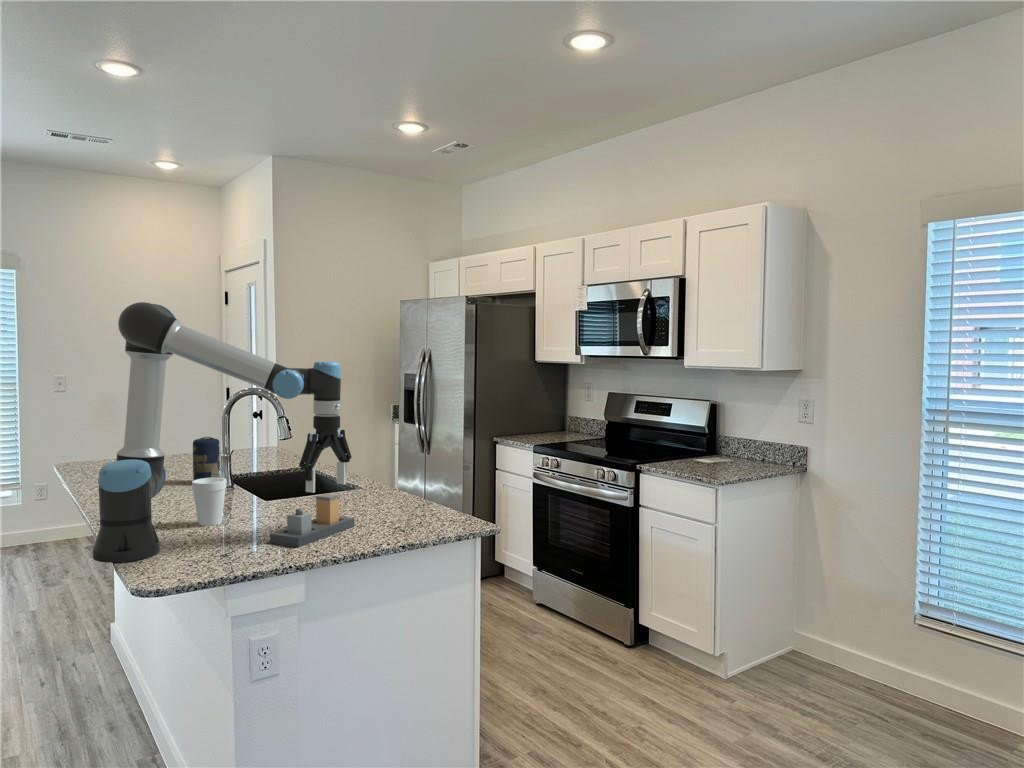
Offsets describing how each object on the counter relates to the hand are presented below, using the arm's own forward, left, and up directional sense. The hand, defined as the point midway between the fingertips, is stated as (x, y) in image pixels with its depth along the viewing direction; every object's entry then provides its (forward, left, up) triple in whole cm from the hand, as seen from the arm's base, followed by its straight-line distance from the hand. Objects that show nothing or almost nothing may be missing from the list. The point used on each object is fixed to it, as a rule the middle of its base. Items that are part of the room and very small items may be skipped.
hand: (326, 487), depth 208 cm
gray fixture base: (-6, 0, -12) cm, 14 cm away
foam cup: (-10, +36, -12) cm, 39 cm away
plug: (0, 0, -12) cm, 12 cm away
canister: (+34, +86, -12) cm, 93 cm away
